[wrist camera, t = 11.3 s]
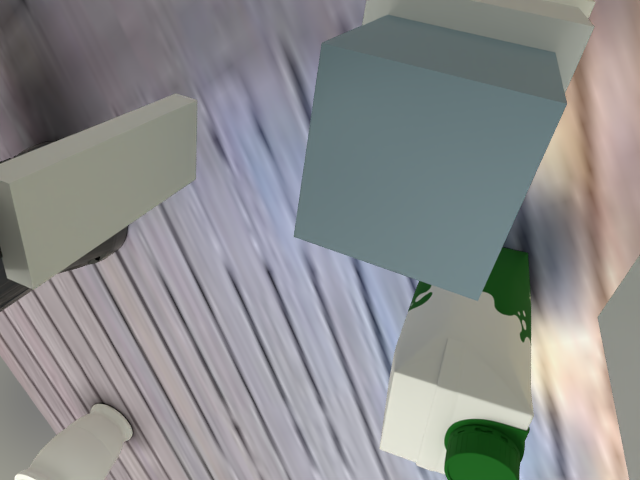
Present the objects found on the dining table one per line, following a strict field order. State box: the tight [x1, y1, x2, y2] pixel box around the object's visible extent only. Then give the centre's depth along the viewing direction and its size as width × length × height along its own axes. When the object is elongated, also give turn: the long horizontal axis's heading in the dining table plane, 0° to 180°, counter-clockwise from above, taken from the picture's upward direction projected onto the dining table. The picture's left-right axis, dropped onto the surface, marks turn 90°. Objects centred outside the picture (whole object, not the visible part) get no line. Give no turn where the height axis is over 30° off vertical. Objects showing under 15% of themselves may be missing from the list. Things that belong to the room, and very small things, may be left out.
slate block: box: [294, 15, 567, 301], centre depth 18 cm, size 7×7×8 cm
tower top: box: [362, 0, 594, 93], centre depth 25 cm, size 9×9×8 cm
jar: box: [15, 404, 133, 480], centre depth 76 cm, size 11×10×15 cm
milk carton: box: [380, 247, 534, 480], centre depth 35 cm, size 9×9×20 cm
